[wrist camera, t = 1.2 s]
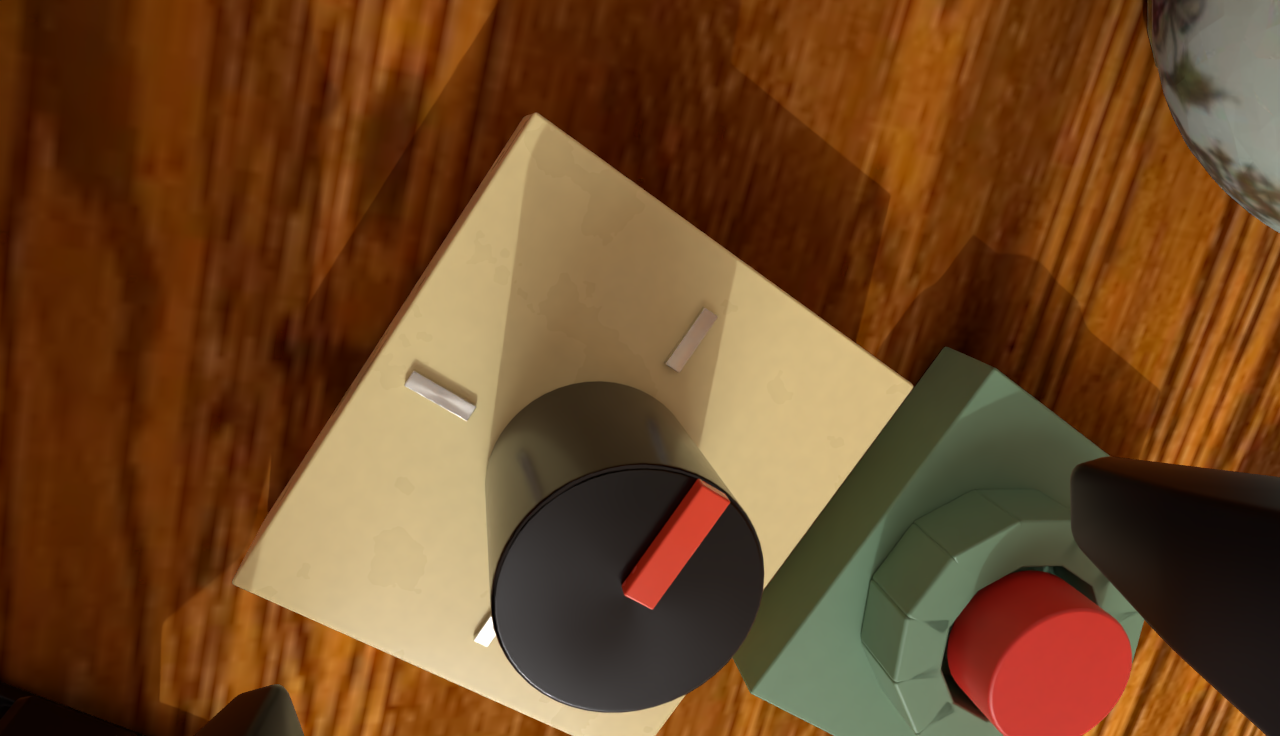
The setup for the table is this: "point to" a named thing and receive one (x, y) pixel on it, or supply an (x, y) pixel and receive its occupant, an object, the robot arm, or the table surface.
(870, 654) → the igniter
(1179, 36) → the bowl
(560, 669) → the stove knob
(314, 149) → the table surface
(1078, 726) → the button
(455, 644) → the panel
